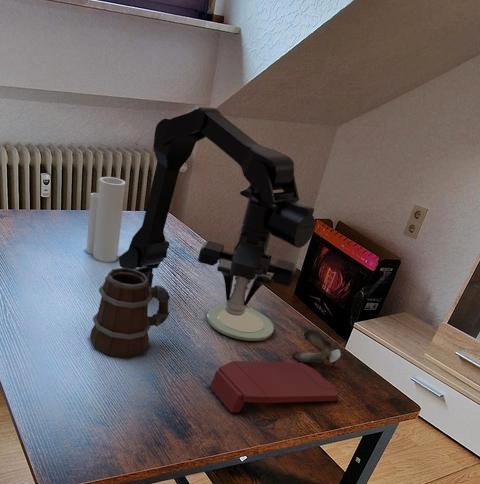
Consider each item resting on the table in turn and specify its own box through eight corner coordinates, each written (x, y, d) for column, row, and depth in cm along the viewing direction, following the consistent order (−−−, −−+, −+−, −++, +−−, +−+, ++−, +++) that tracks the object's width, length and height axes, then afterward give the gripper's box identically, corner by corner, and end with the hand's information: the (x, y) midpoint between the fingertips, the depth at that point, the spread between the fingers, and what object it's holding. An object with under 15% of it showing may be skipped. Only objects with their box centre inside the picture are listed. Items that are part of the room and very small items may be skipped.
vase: (121, 261, 146) (130, 185, 134) (97, 262, 143) (104, 184, 131) (104, 244, 153) (111, 171, 141) (80, 246, 150) (86, 170, 138)
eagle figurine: (335, 351, 122) (299, 335, 122) (351, 337, 115) (313, 320, 115) (326, 379, 119) (290, 363, 119) (342, 367, 113) (303, 350, 112)
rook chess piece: (222, 304, 113) (231, 269, 108) (242, 307, 113) (252, 271, 108) (225, 315, 109) (235, 278, 104) (246, 317, 110) (257, 281, 105)
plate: (231, 346, 118) (233, 341, 117) (193, 312, 129) (195, 307, 128) (286, 337, 126) (287, 332, 125) (246, 306, 136) (247, 301, 135)
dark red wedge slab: (296, 381, 118) (204, 381, 105) (306, 362, 115) (213, 360, 102) (331, 414, 110) (236, 419, 97) (343, 395, 107) (247, 397, 94)
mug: (99, 359, 106) (106, 290, 97) (85, 329, 114) (91, 262, 105) (172, 356, 111) (186, 289, 102) (154, 327, 120) (165, 263, 111)
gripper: (200, 227, 95) (184, 305, 105) (303, 253, 93) (276, 331, 103) (212, 210, 104) (196, 284, 113) (306, 234, 102) (282, 308, 111)
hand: (236, 302), depth 110 cm, fingers closed on rook chess piece, 3 cm apart
